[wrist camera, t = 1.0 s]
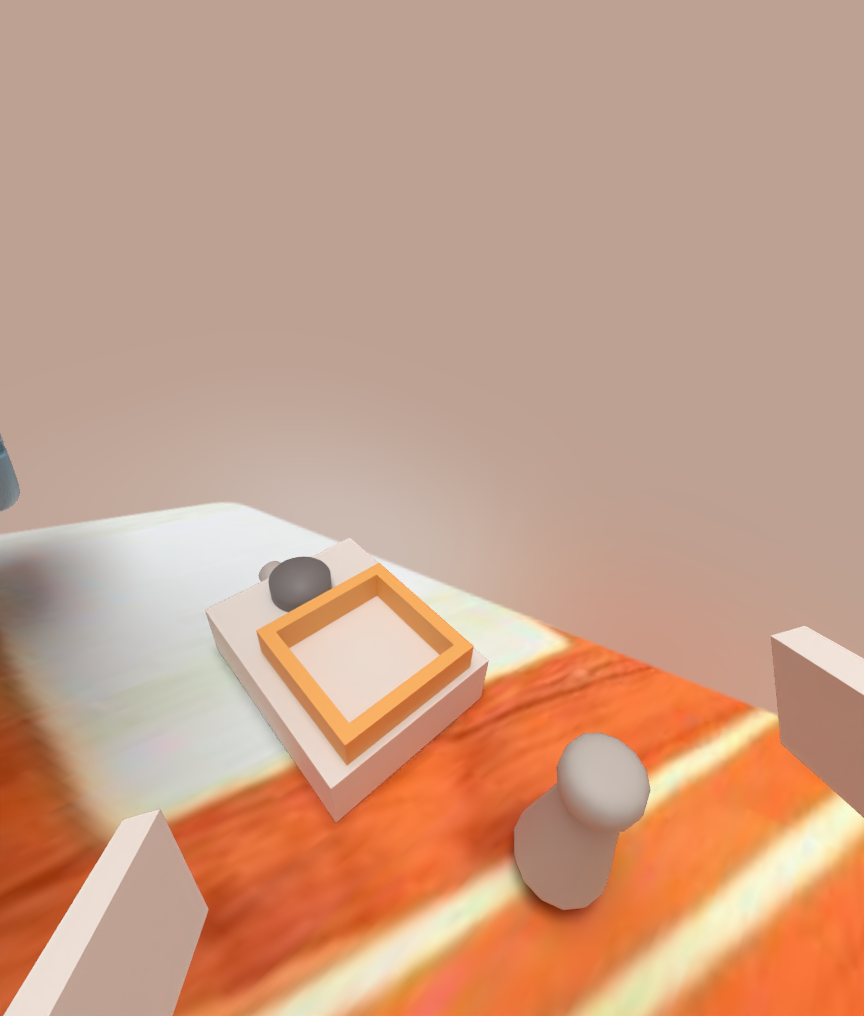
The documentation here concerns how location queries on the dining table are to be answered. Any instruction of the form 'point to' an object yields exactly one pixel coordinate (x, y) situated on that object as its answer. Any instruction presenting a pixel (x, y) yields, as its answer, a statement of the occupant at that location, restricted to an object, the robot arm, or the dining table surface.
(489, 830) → the dining table surface
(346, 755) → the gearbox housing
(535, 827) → the salt shaker
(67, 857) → the dining table surface
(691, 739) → the dining table surface
